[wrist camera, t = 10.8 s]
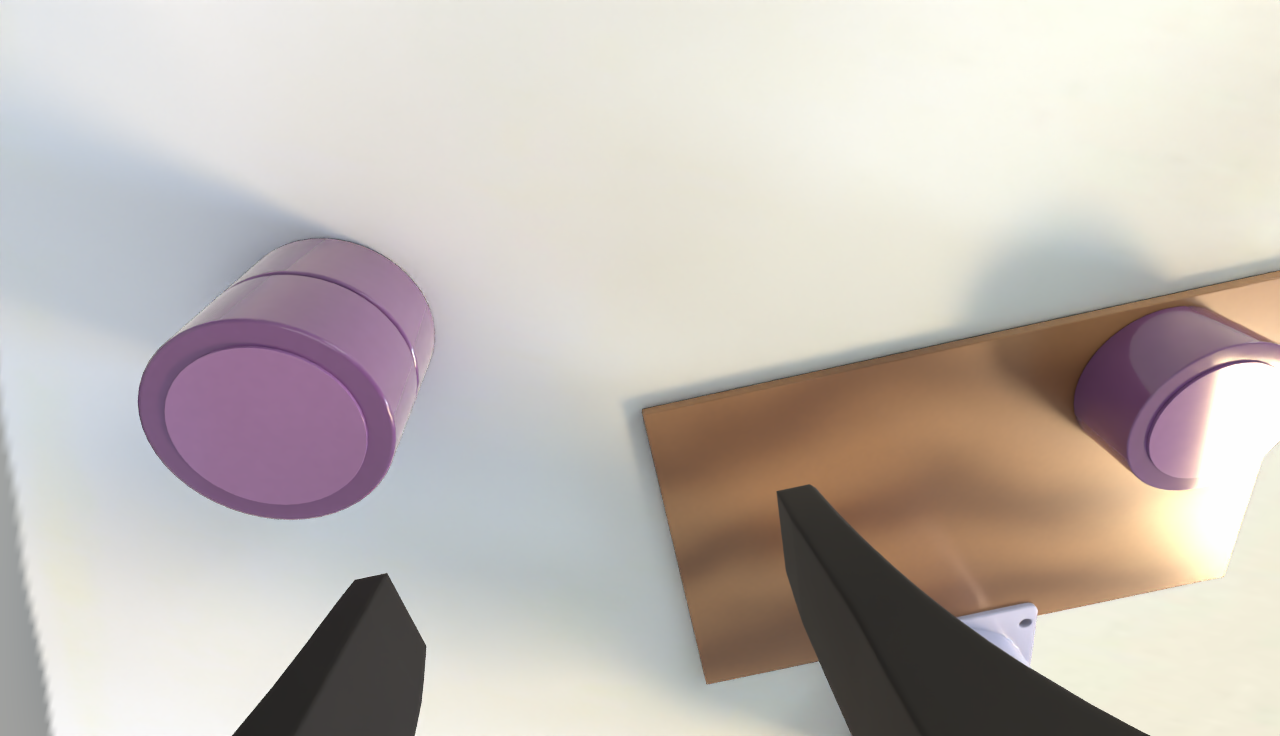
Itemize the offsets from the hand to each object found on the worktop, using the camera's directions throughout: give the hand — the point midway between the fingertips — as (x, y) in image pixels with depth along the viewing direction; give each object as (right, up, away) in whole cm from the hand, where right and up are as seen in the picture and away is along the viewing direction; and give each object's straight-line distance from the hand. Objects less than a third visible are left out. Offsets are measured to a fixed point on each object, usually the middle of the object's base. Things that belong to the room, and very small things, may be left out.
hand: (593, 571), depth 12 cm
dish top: (+18, +3, +10) cm, 21 cm away
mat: (+13, -1, +13) cm, 18 cm away
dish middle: (-8, +4, +5) cm, 10 cm away
